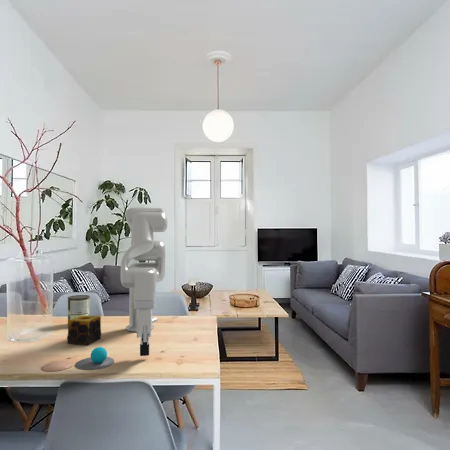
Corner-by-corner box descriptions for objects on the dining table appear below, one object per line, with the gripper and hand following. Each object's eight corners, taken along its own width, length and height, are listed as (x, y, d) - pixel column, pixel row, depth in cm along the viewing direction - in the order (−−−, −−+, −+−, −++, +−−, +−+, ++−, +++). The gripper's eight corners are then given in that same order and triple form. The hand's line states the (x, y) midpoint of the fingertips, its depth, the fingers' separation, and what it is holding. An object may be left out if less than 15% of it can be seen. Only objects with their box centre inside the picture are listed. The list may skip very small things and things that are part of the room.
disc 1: (65, 359, 134) (65, 358, 134) (79, 365, 127) (79, 364, 127) (36, 366, 126) (36, 366, 126) (49, 373, 120) (49, 373, 120)
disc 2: (101, 354, 139) (101, 354, 139) (121, 362, 131) (121, 361, 131) (67, 363, 129) (67, 363, 129) (86, 372, 121) (87, 372, 121)
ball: (105, 355, 134) (98, 343, 133) (112, 357, 131) (105, 344, 130) (92, 366, 131) (85, 353, 130) (99, 367, 127) (91, 354, 126)
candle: (88, 345, 151) (88, 321, 151) (66, 344, 153) (66, 320, 153) (101, 339, 161) (101, 315, 161) (80, 337, 163) (80, 314, 163)
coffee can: (62, 325, 184) (63, 297, 185) (80, 321, 193) (80, 294, 194) (76, 328, 179) (76, 298, 180) (93, 323, 188) (94, 295, 188)
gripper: (134, 301, 141) (133, 349, 140) (134, 308, 126) (133, 362, 126) (154, 300, 143) (153, 348, 142) (156, 307, 128) (156, 361, 128)
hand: (144, 355), depth 134 cm, fingers closed
